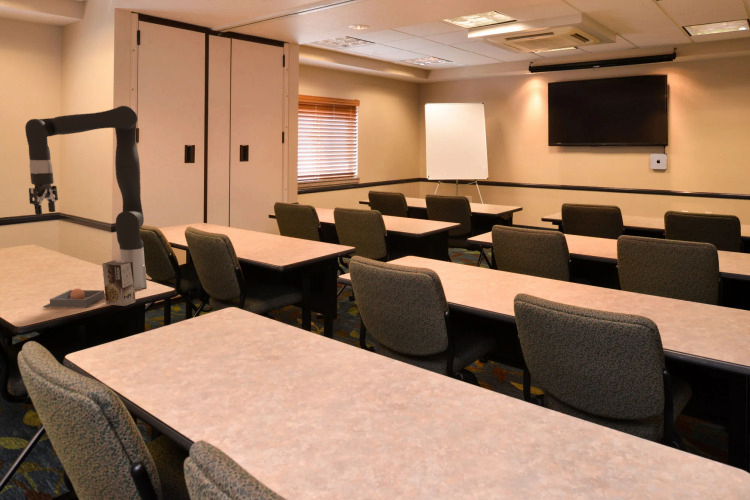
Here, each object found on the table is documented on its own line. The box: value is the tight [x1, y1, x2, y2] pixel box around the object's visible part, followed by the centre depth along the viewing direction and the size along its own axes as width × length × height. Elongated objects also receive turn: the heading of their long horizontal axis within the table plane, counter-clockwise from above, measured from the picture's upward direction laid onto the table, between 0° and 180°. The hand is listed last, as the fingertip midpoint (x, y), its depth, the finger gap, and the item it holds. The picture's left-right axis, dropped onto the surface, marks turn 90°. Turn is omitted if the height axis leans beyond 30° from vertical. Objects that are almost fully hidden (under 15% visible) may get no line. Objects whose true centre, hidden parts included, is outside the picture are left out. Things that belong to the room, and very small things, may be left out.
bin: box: [49, 289, 106, 309], centre depth 214 cm, size 14×14×3 cm
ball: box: [70, 287, 85, 299], centre depth 214 cm, size 5×5×5 cm
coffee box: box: [101, 259, 136, 307], centre depth 212 cm, size 9×6×16 cm
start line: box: [42, 302, 51, 308], centre depth 214 cm, size 2×14×1 cm, turn 179°
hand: (45, 213), depth 218 cm, fingers open, 8 cm apart
